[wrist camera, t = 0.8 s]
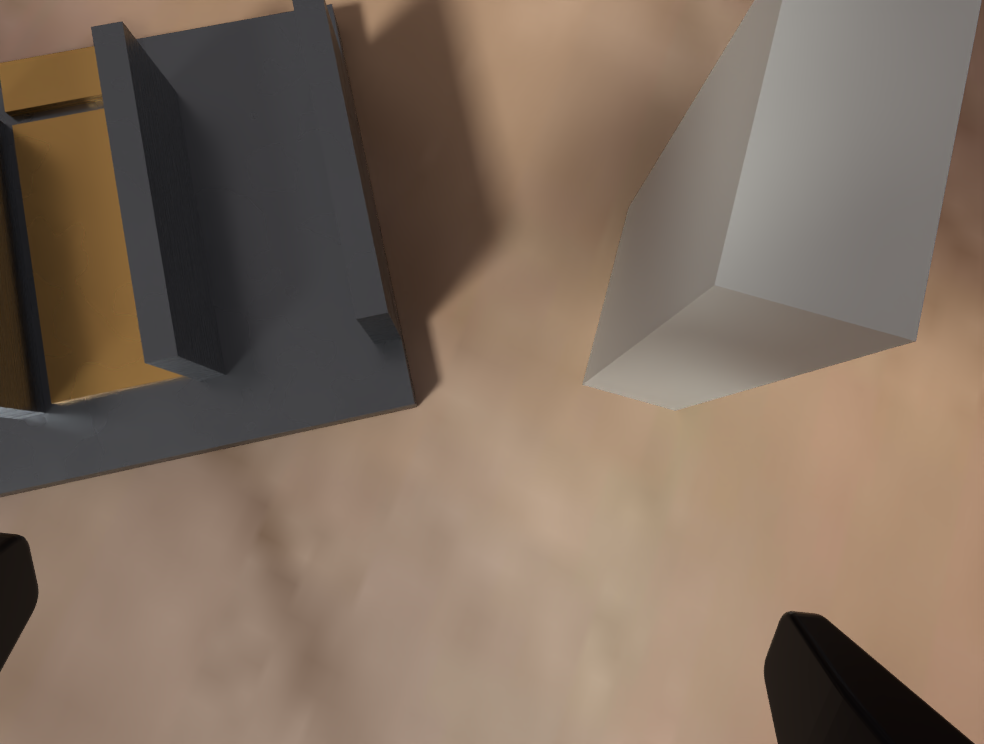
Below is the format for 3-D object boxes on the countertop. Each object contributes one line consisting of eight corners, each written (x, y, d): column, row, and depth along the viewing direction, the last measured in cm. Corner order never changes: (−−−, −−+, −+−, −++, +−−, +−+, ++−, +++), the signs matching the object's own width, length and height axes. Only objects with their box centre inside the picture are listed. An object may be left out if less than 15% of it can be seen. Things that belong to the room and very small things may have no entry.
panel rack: (417, 407, 22) (404, 390, 17) (-133, 525, 21) (-297, 541, 16) (337, 23, 23) (307, -81, 19) (-176, 116, 22) (-336, 29, 18)
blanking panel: (675, 410, 22) (915, 340, 10) (582, 384, 22) (714, 285, 10) (718, 232, 23) (986, -24, 11) (628, 207, 23) (799, -75, 11)
